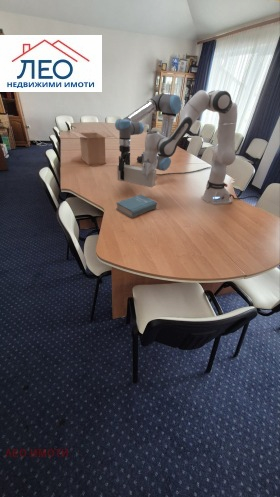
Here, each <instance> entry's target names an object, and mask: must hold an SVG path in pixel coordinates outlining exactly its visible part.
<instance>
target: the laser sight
mask: <svg viewBox="0 0 280 497" xmlns="http://www.w3.org/2000/svg"><path fill="white" fill-rule="evenodd" d="M142 156H143V153H141V155H140V156H139V155H137V157H136V163H140V164H142Z"/></svg>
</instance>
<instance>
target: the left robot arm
mask: <svg viewBox="0 0 280 497" xmlns="http://www.w3.org/2000/svg"><path fill="white" fill-rule="evenodd" d="M182 106H183V105H182V100H181V97H180V96H179V95H177V94H174V93H173V94H171V93H158V94H157V95H154V96H153V97H150V98H149V99H148V100H147V101H146V103H145V104H143V105H142V106H140V107H138V108H137V109H136V110H134V111H132V112H131V113H130V114H128V115H127V116H125V117H124V118H117V119H116V120H115V124H114V127H115V129H116V130H117V131H118V132H119V134H118V135H119V138H118V139H119V142H118V143H119V144H118V145H119V146H118V148H119V150H118V151H119V152H120V155H118V165H119V171H120V179H121V180H124V171H123V170H124V164H126V165H131V142H132V141H131V136H134V135H135V136H136V135H137V136H138V135H141V134H143V133H144V130H145V126H144V123H143V122H141V121H142V120H144V119H145V118H147V117H148V116H149V115H151V114H155V113H157V112H160V113H161V117H162V121H161V127H160V132H159V133H160V134H161V135H163V136H165V137H167V138H170V137H171V136H172V132H173V126H174V120H175V119H176V118H177V115H178V114H180V113H181V111H182ZM144 152H145V150H144V151H143V152H142V154H143V156H142V155H141V156H142V163H141V167H142V166H143V163H144V162H145V161H144ZM157 155H159V159H158V163H157V168H156V169H155V170H158V171H163V172H165V171H166V170H168V169H169V168H170V166H171V163H172V158H171V157H169V158H165V157H163V156H162V155H161V154H160V152H158V153H157ZM205 169H211V166H207V167H204V168H201V169H197V170H193V171H184V172H183V174H190V173H196V172H200V171H202V170H205ZM178 174H179V175H180V174H181V175H182V172H166V173H162V174H161V173H156V176H165V175H178Z"/></svg>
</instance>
